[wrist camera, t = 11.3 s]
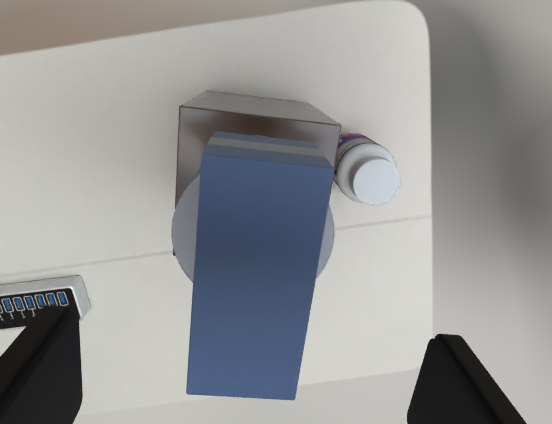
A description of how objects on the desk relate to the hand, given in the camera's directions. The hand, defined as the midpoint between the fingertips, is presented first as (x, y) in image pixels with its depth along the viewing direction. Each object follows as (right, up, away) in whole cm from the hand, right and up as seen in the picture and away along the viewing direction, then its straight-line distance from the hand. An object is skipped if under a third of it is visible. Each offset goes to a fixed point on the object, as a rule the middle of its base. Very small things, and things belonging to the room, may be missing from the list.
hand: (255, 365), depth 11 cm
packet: (-1, +3, +9) cm, 10 cm away
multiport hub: (-28, -6, +36) cm, 46 cm away
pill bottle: (+8, +10, +32) cm, 34 cm away
